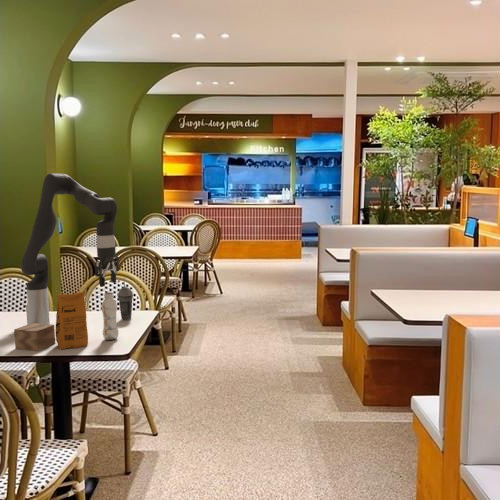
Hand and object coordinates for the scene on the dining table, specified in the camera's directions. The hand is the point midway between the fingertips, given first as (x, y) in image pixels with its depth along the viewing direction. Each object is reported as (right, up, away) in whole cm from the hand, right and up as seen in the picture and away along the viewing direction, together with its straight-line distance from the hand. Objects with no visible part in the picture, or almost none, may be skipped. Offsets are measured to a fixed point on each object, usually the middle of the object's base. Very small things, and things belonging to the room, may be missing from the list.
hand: (108, 284), depth 251 cm
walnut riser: (-29, -25, -5) cm, 38 cm away
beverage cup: (0, -19, +39) cm, 44 cm away
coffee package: (-13, -25, -5) cm, 29 cm away
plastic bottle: (+1, -24, +3) cm, 24 cm away
